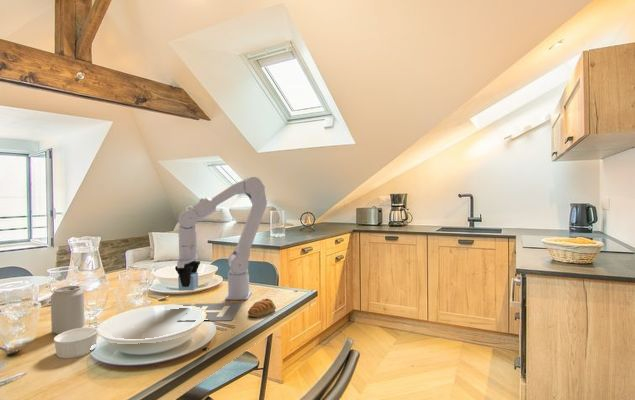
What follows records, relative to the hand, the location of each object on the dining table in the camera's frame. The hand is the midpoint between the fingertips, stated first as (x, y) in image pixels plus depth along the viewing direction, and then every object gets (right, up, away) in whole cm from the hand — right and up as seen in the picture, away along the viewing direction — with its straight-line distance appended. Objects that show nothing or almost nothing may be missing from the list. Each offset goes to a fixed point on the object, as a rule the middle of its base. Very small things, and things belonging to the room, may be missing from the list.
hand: (188, 284), depth 123 cm
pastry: (+27, -7, -11) cm, 30 cm away
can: (-25, -7, -24) cm, 35 cm away
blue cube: (0, -2, 0) cm, 2 cm away
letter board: (+11, -7, -10) cm, 16 cm away
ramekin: (-14, -8, -37) cm, 40 cm away
